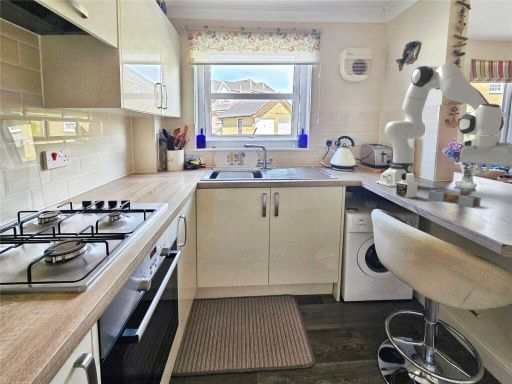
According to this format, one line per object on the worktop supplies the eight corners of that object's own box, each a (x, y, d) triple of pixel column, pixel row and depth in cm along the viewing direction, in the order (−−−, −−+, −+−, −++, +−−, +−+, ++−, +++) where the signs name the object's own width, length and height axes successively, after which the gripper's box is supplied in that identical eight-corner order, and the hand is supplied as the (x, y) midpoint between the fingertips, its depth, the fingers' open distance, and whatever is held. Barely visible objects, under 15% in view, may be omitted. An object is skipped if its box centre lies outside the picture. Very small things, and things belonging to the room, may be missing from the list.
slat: (439, 200, 164) (440, 192, 163) (443, 200, 165) (444, 192, 164) (472, 207, 150) (473, 198, 149) (476, 206, 151) (477, 198, 150)
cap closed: (428, 198, 167) (429, 190, 166) (436, 197, 170) (437, 189, 169) (442, 201, 160) (443, 193, 160) (450, 200, 163) (451, 192, 163)
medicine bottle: (395, 195, 175) (397, 172, 173) (406, 194, 178) (408, 172, 175) (406, 198, 169) (408, 174, 166) (416, 197, 171) (418, 173, 169)
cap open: (458, 204, 154) (459, 196, 153) (466, 203, 156) (467, 195, 156) (471, 207, 148) (472, 198, 148) (480, 206, 151) (481, 197, 150)
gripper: (518, 142, 135) (514, 176, 138) (467, 142, 154) (464, 172, 156) (509, 142, 133) (505, 177, 135) (458, 142, 151) (456, 172, 153)
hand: (483, 174), depth 145 cm, fingers closed
